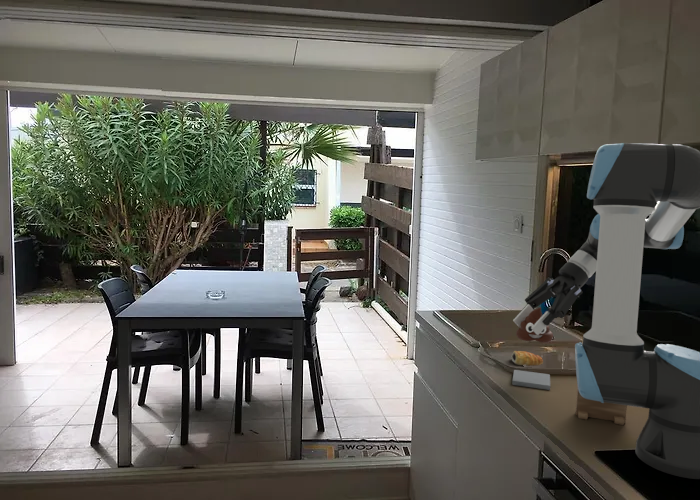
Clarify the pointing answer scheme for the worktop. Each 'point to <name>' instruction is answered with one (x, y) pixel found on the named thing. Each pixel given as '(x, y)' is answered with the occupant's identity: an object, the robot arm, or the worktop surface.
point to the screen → (600, 410)
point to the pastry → (526, 358)
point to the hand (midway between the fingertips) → (525, 327)
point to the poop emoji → (528, 333)
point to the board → (531, 379)
